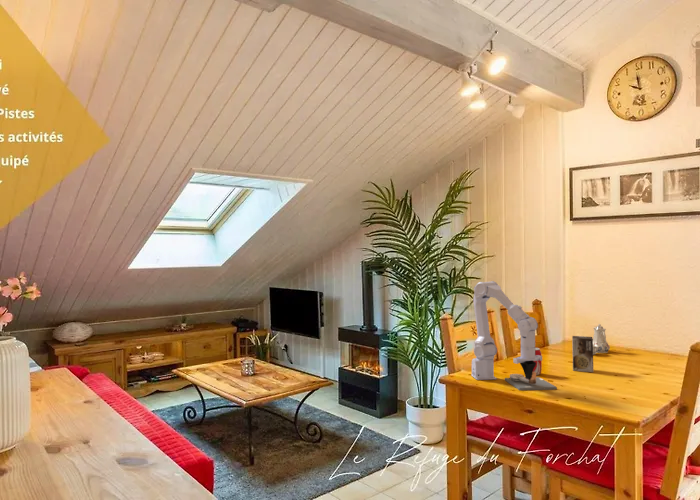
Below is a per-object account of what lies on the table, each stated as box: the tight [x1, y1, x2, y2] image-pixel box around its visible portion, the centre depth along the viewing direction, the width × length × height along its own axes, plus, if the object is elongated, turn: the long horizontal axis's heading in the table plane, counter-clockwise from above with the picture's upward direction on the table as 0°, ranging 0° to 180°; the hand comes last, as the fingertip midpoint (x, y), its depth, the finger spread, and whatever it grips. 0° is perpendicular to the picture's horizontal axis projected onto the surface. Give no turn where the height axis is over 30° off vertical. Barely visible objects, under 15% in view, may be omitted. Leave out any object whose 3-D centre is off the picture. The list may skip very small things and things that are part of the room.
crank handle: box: [509, 372, 537, 384], centre depth 209 cm, size 6×14×4 cm, turn 25°
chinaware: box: [592, 323, 611, 356], centre depth 278 cm, size 28×17×17 cm, turn 172°
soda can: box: [533, 347, 543, 376], centre depth 227 cm, size 7×7×12 cm
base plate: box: [504, 376, 558, 391], centre depth 209 cm, size 16×16×2 cm
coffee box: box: [571, 335, 594, 373], centre depth 234 cm, size 9×6×16 cm
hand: (528, 378), depth 203 cm, fingers closed
